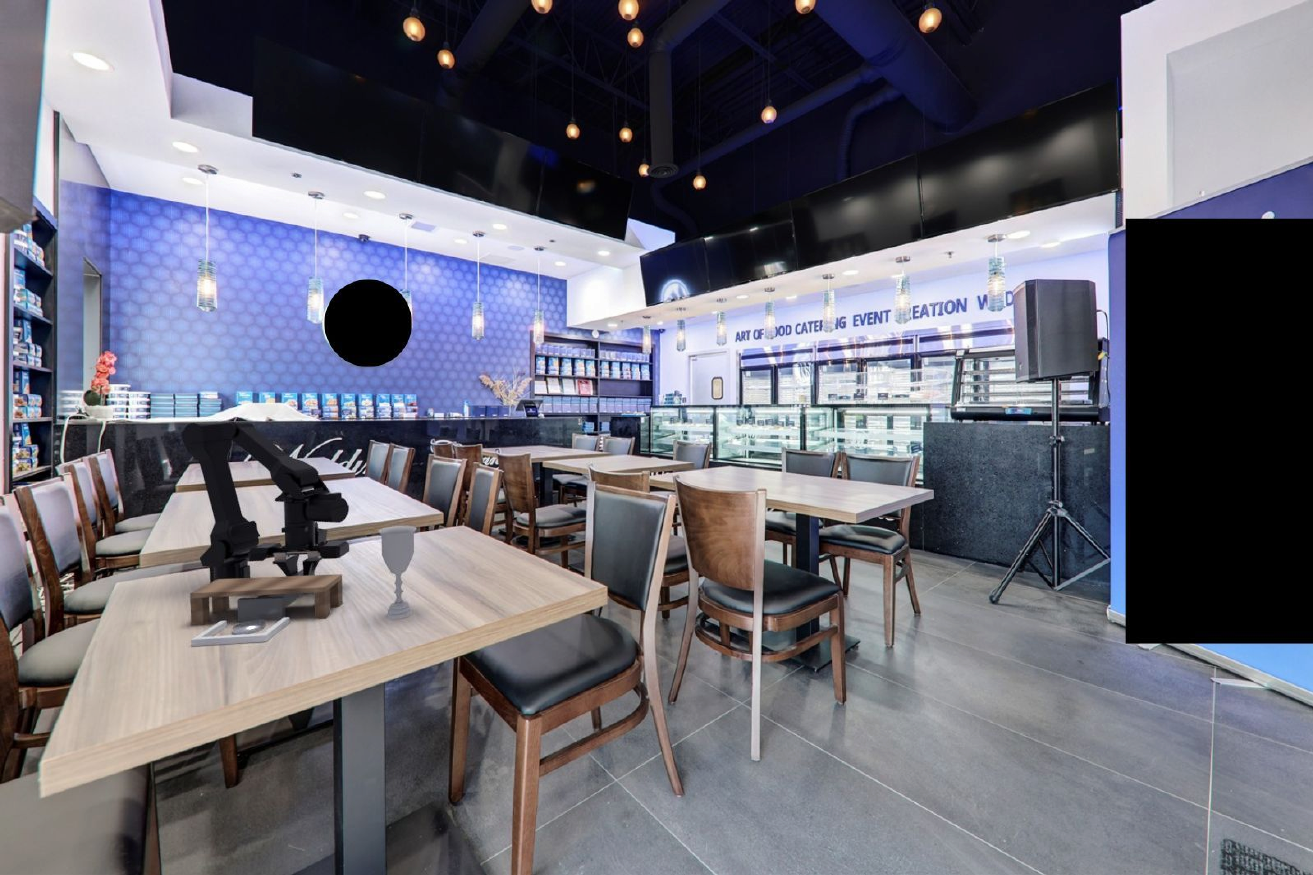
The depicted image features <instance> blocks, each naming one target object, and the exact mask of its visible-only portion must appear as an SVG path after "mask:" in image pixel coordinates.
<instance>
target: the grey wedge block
mask: <svg viewBox="0 0 1313 875" xmlns="http://www.w3.org/2000/svg"><path fill="white" fill-rule="evenodd" d="M313 575H316V571H315V572H314V574H313ZM293 576H303V568H302V569H301V570H298V572H297V573H296V574H294V575H293ZM304 594H305V593H293V594H271V595H258V596H257V597H256V596H255V597H240V598H238V599H237V601H236V602H237V622H238V623H241V622H245V621H249V620H255V619H262V620H265V621H266V622H267V621H280V620H281V619H282V618H286V607H287V606H289V605H290V604H292V603H293V602H294V601H295V600H297V599H298V598H300V597H301V596H303V595H304Z"/></svg>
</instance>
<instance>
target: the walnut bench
mask: <svg viewBox="0 0 1313 875" xmlns="http://www.w3.org/2000/svg"><path fill="white" fill-rule="evenodd" d="M293 593H304V594H308V593H314V595H313V596H314V618H315V619H317V620H320V619H327V618H328V617H329V616H330V615H331V608H339V607H341V605H342V604H343V603H344V601H343V594H344V593H343V574H342V573H341V574H340V573H339V574H337V573H336V574H335V573H334V574H315V575H311V576H286V575H285V576H267V577H266V576H265V577H263V576H262V577H250V578H237V579H217V580H215V581H213V582H211V583H210V582H209V583H207V584H205V585H204V586H202V587H200V588H197V589H195V590H194V591H192V592H190V593H189V600H190V601H189V602H190V618H191V619H190V620H191V621H190V624H191V626H192V627H193V626H204V625H205V624H207V623H209V622H210V621H211V614H220V613H221V614H223V613H225V612H226V611H228V610H230V609H231V608H230V597H245V596H246V597H247V596H260V595H271V594H293ZM210 598H211V607H210ZM210 609H211V610H210ZM211 612H212V613H211Z"/></svg>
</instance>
